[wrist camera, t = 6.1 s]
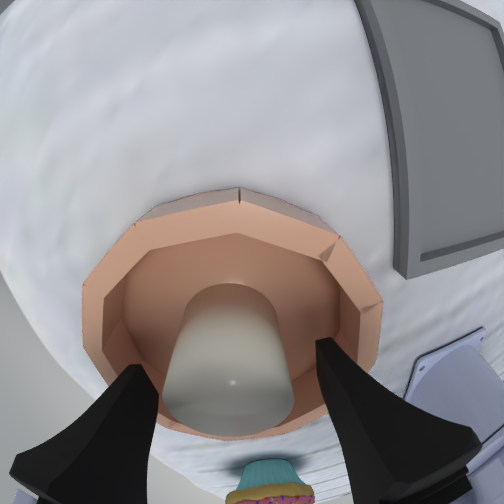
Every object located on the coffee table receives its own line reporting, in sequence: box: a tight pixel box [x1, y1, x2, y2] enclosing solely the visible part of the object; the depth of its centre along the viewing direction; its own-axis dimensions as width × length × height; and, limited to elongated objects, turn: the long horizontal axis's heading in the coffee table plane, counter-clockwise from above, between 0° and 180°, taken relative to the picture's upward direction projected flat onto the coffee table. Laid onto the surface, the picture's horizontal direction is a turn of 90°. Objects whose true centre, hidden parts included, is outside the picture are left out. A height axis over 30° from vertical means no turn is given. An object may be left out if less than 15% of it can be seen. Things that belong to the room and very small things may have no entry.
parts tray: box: [355, 0, 504, 280], centre depth 10 cm, size 16×12×1 cm
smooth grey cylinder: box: [162, 283, 294, 437], centre depth 11 cm, size 5×5×5 cm
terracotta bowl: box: [82, 188, 383, 441], centre depth 12 cm, size 13×13×4 cm
